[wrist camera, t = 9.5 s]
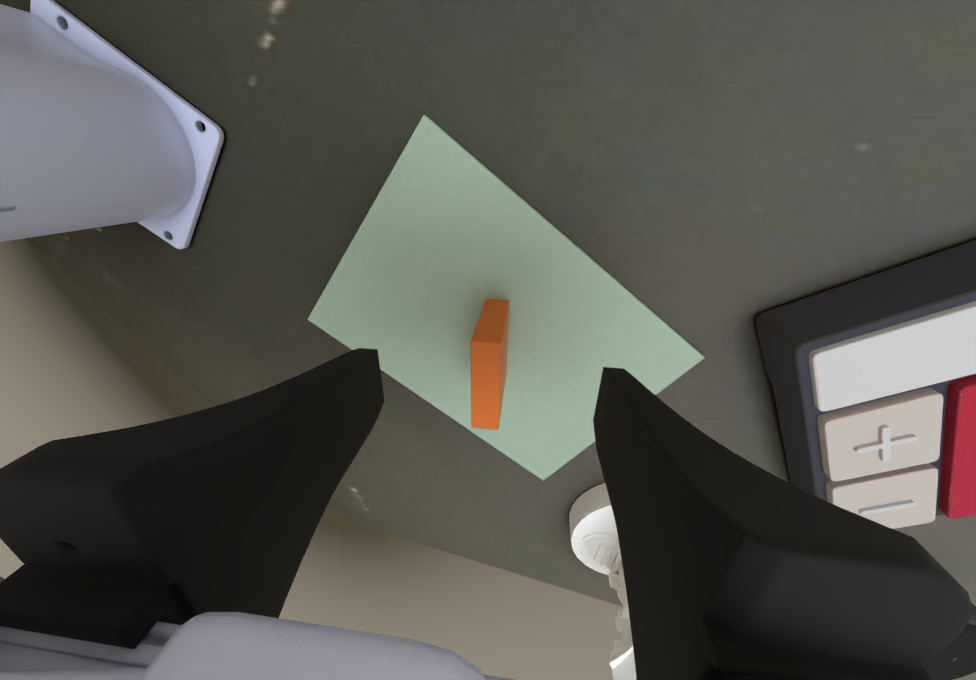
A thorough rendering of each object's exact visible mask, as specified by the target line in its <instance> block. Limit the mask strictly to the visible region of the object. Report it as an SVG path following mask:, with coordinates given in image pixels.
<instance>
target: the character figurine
mask: <svg viewBox="0 0 976 680" xmlns="http://www.w3.org/2000/svg"><path fill="white" fill-rule="evenodd" d="M569 525H570V536H571V543H572V549H573V551H574V552H575V554H576V556H577V558H578V559H579V560H581V561H582V562H583V563H584V564H585V565H586V566H588V567H590V568H592V569H593V570H595V571H597V572H600V573H603V574H606V575H609V584H610V587H611V588H613V589H615V590H617V592H618V593H617V596H618V598H619V599H620V601H621V603H622V605H623V607H622V608H621V609H620V610H619V611H618V613H617V615H616V618H615V625H616V628H617V630H618V631H619V633H620V634H621V638H620V639H618V640H614V649H613V650H612V651H611V652H610V662H609V664H610V666H611V668H612V674H613V680H637V679H636V669H635V659H634V651H633V642H632V634H631V626H630V617H629V609H628V601H627V594H626V587H625V580H624V572H623V565H622V559H621V552H620V546H619V539H618V533H617V528H616V523H615V519H614V514H613V510H612V507H611V503H610V499H609V495H608V491H607V488H606V484H605V483H602V484H600V485H598V486H595V487H593V488H591V489H589V490H588V491H586V492H584V493H583V494H582V495H581V496H580V497H579V498H578V499H577V500H576V501H575V502H574V504H573V505H572V507H571V510H570V513H569Z"/></svg>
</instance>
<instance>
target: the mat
mask: <svg viewBox="0 0 976 680" xmlns="http://www.w3.org/2000/svg"><path fill="white" fill-rule="evenodd" d="M486 299H493V300H509V302H510V303H509V326H508V350H507V373H506V380H505V388H504V395H503V402H502V409H501V416H500V423H499V429H498V430H488V429H477V428H472V427H471V339H472V336H473V333H474V331H475V328H476V325H477V322H478V320H479V317H480V314H481V311H482V309H483V306H484V303H485V300H486ZM308 320H309V321H310V322H312V323H313V324H315V325H316V326H318V327H319V328H321V329H322V330H324V331H325V332H327V333H328V334H329V335H331V336H332V337H334V338H335V339H337V340H338V341H340V342H341V343H343V344H344V345H346V346H347V347H349V348H350V349H351V350H355V349H358V348H366V349H378V356H379V364H380V369H381V370H382V371H384V372H385V373H387V374H388V375H390V376H391V377H392V378H394V379H395V380H397V381H398V382H400V383H401V384H403V385H404V386H406V387H407V388H409V389H410V390H411V391H413V392H414V393H416V394H417V395H419V396H420V397H422V398H423V399H425V400H426V401H428V402H429V403H430V404H432V405H433V406H435V407H436V408H438V409H439V410H441V411H442V412H444V413H445V414H447V415H448V416H450V417H451V418H452V419H454V420H455V421H457V422H458V423H460V424H461V425H463V426H464V427H466V428H467V429H469V430H470V431H471V432H473V433H474V434H476V435H477V436H479V437H480V438H482V439H483V440H485V441H486V442H488V443H489V444H491V445H492V446H493V447H495V448H496V449H498V450H499V451H501V452H502V453H504V454H505V455H507V456H508V457H510V458H511V459H512V460H514V461H515V462H517V463H518V464H520V465H521V466H523V467H524V468H526V469H527V470H529V471H530V472H532V473H533V474H534V475H536V476H537V477H539V478H540V479H542V480H545V479H546V478H547V477H549V476H550V475H551V474H553V473H554V472H555V471H556V470H558V469H559V468H560V467H562V466H563V465H564V464H566V463H567V462H568V461H570V460H571V459H572V458H574V457H575V456H576V455H578V454H579V453H580V452H581V451H583V450H584V449H585V448H587V447H588V446H589V445H591V444H592V443H593V442H595V433H594V424H593V418H594V413H595V408H596V402H597V397H598V392H599V387H600V382H601V377H602V371H603V367H611V368H623V369H625V370H626V371H628V372H629V373H630V374H631V375H633V376H634V377H635V378H636V379H637V380H638V381H639V382H641V383H642V384H643V385H644V386H645V387H646V388H647V389H648V390H650V391H651V392H652V393H653V394H654V395H656V394H658V393H659V392H660V391H662V390H663V389H664V388H666V387H667V386H668V385H670V384H671V383H672V382H674V381H675V380H676V379H677V378H679V377H680V376H681V375H683V374H684V373H685V372H687V371H688V370H689V369H691V368H692V367H693V366H695V365H696V364H697V363H698V362H700V361H701V360H702V359H704V356H703V355H702V354H701V353H700V352H699V351H697V350H696V349H695V348H694V347H693V346H692V345H690V344H689V343H688V342H687V341H686V340H685V339H684V338H682V337H681V336H680V335H679V334H678V333H677V332H675V331H674V330H673V329H672V328H671V327H670V326H669V325H667V324H666V323H665V322H664V321H663V320H662V319H660V318H659V317H658V316H657V315H656V314H655V313H654V312H652V311H651V310H650V309H649V308H648V307H647V306H645V305H644V304H643V303H642V302H641V301H640V300H639V299H637V298H636V297H635V296H634V295H633V294H632V293H630V292H629V291H628V290H627V289H626V288H625V287H624V286H622V285H621V284H620V283H619V282H618V281H617V280H615V279H614V278H613V277H612V276H611V275H610V274H609V273H607V272H606V271H605V270H604V269H603V268H602V267H600V266H599V265H598V264H597V263H596V262H595V261H594V260H592V259H591V258H590V257H589V256H588V255H587V254H585V253H584V252H583V251H582V250H581V249H580V248H579V247H577V246H576V245H575V244H574V243H573V242H572V241H570V240H569V239H568V238H567V237H566V236H565V235H564V234H562V233H561V232H560V231H559V230H558V229H557V228H555V227H554V226H553V225H552V224H551V223H550V222H549V221H547V220H546V219H545V218H544V217H543V216H542V215H540V214H539V213H538V212H537V211H536V210H535V209H534V208H532V207H531V206H530V205H529V204H528V203H527V202H525V201H524V200H523V199H522V198H521V197H520V196H519V195H517V194H516V193H515V192H514V191H513V190H512V189H510V188H509V187H508V186H507V185H506V184H505V183H504V182H502V181H501V180H500V179H499V178H498V177H497V176H495V175H494V174H493V173H492V172H491V171H490V170H489V169H487V168H486V167H485V166H484V165H483V164H482V163H480V162H479V161H478V160H477V159H476V158H475V157H474V156H472V155H471V154H470V153H469V152H468V151H467V150H465V149H464V148H463V147H462V146H461V145H460V144H459V143H457V142H456V141H455V140H454V139H453V138H452V137H450V136H449V135H448V134H447V133H446V132H445V131H444V130H442V129H441V128H440V127H439V126H438V125H437V124H435V123H434V122H433V121H432V120H431V119H430V118H429V117H427V116H426V115H423V117H422V119H421V120H420V122H419V124H418V126H417V127H416V129H415V131H414V133H413V134H412V136H411V138H410V140H409V141H408V143H407V145H406V147H405V148H404V150H403V152H402V154H401V155H400V157H399V159H398V161H397V163H396V164H395V166H394V168H393V170H392V171H391V173H390V175H389V177H388V178H387V180H386V182H385V184H384V185H383V187H382V189H381V191H380V192H379V194H378V196H377V198H376V200H375V201H374V203H373V205H372V207H371V208H370V210H369V212H368V214H367V215H366V217H365V219H364V221H363V222H362V224H361V226H360V228H359V229H358V231H357V233H356V235H355V236H354V238H353V240H352V242H351V244H350V245H349V247H348V249H347V251H346V252H345V254H344V256H343V258H342V259H341V261H340V263H339V265H338V266H337V268H336V270H335V272H334V273H333V275H332V277H331V279H330V280H329V282H328V284H327V286H326V288H325V289H324V291H323V293H322V295H321V296H320V298H319V300H318V302H317V303H316V305H315V307H314V309H313V310H312V312H311V314H310V316H309V317H308Z"/></svg>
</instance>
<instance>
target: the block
mask: <svg viewBox="0 0 976 680" xmlns="http://www.w3.org/2000/svg"><path fill="white" fill-rule="evenodd" d="M509 303H510V302H509V300H493V299H486V300H485V303H484V306H483V309H482V311H481V314H480V317H479V320H478V322H477V325H476V328H475V331H474V333H473V336H472V339H471V427H472V428H477V429H488V430H498V429H499V423H500V416H501V409H502V402H503V395H504V388H505V380H506V373H507V350H508V326H509Z"/></svg>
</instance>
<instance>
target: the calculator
mask: <svg viewBox="0 0 976 680" xmlns="http://www.w3.org/2000/svg"><path fill="white" fill-rule="evenodd" d="M756 326H757V331H758V336H759V342H760V347H761V352H762V357H763V362H764V367H765V370H766V372H767V374H768V376H769V379H770V381H771V383H772V385H773V389H774V395H775V400H776V406H777V411H778V416H779V422H780V427H781V433H782V438H783V443H784V449H785V454H786V460H787V465H788V470H789V476H790V481H791V484H792V485H794V486H796V487H798V488H800V489H802V490H804V491H806V492H808V493H810V494H813V495H815V496H817V497H819V498H821V499H823V500H825V501H827V502H830V503H832V504H834V505H836V506H838V507H841V508H843V509H845V510H848V511H850V512H853V513H855V514H857V515H860V516H862V517H865V518H867V519H869V520H872V521H874V522H877V523H879V524H882V525H884V526H886V527H889V528H891V529H894V528H900V527H907V526H913V525H919V524H925V523H930V522H933V521H934V519H935V516H938V515H944V514H945V515H946V516H947V517H948V518H951V519H954V518H962V517H968V516H974V515H976V240H975V241H972V242H969V243H966V244H963V245H960V246H957V247H954V248H951V249H948V250H945V251H942V252H940V253H937V254H934V255H931V256H928V257H925V258H922V259H919V260H916V261H913V262H910V263H907V264H904V265H901V266H898V267H895V268H893V269H890V270H887V271H884V272H881V273H878V274H875V275H872V276H869V277H866V278H863V279H860V280H857V281H854V282H851V283H848V284H846V285H843V286H840V287H837V288H834V289H831V290H828V291H825V292H822V293H819V294H816V295H813V296H810V297H807V298H804V299H801V300H798V301H796V302H793V303H790V304H787V305H784V306H781V307H778V308H775V309H772V310H769V311H766V312H764V313H762V314H760V315H759V316H758V317H757V319H756Z"/></svg>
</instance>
